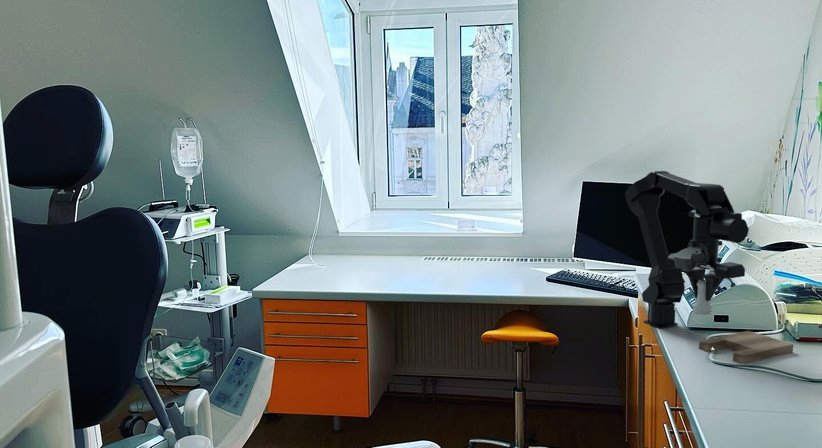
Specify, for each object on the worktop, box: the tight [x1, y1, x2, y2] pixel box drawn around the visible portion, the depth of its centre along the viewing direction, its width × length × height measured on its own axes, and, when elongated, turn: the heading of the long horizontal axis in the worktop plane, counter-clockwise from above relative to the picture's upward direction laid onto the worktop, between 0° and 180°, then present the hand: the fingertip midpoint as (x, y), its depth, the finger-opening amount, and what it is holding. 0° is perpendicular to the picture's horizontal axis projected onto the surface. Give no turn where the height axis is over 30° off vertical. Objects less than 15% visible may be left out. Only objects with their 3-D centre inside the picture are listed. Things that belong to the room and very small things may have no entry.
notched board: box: [698, 330, 794, 365], centre depth 162 cm, size 12×17×2 cm
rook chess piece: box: [692, 279, 713, 316], centre depth 168 cm, size 4×4×8 cm
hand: (702, 299), depth 168 cm, fingers closed on rook chess piece, 3 cm apart
